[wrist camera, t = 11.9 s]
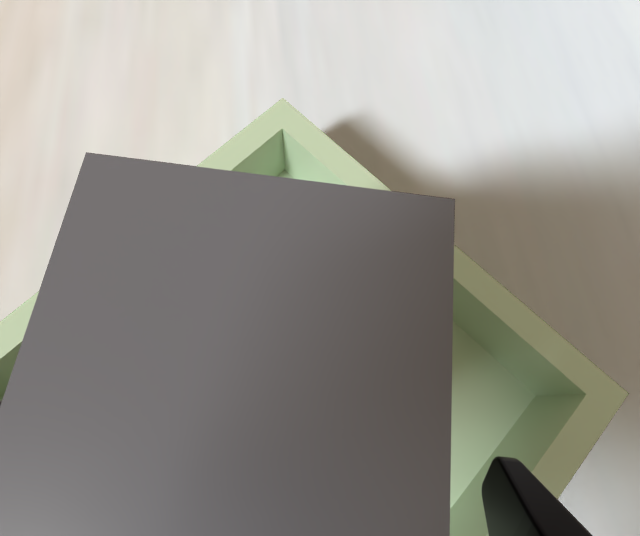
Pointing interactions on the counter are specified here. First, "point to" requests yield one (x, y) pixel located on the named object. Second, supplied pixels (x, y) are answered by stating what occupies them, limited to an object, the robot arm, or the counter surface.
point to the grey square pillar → (234, 361)
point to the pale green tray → (468, 341)
